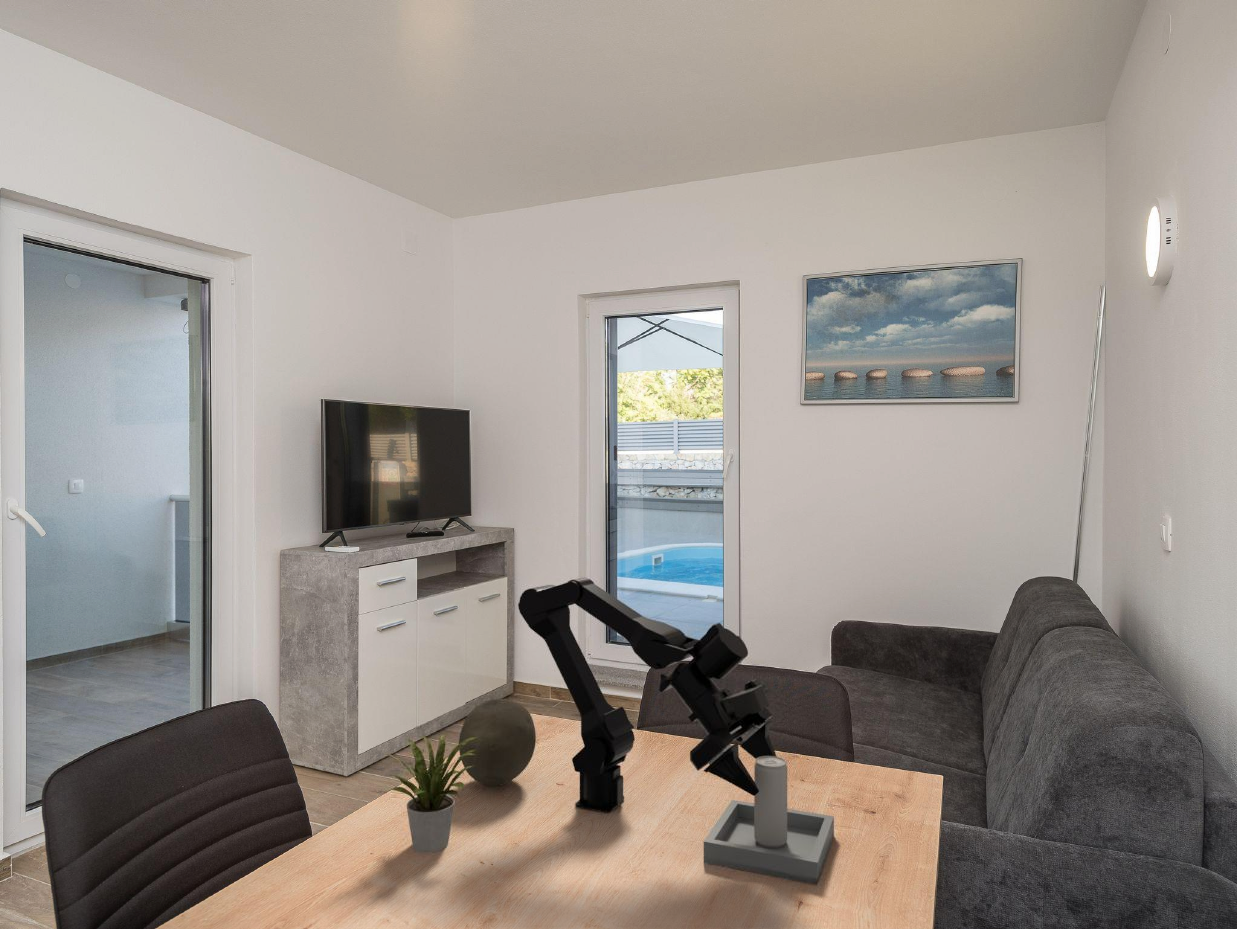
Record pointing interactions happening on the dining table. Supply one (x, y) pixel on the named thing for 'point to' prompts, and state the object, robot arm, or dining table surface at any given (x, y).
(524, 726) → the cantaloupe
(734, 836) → the tray
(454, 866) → the dining table surface
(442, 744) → the house plant
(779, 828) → the beverage can
